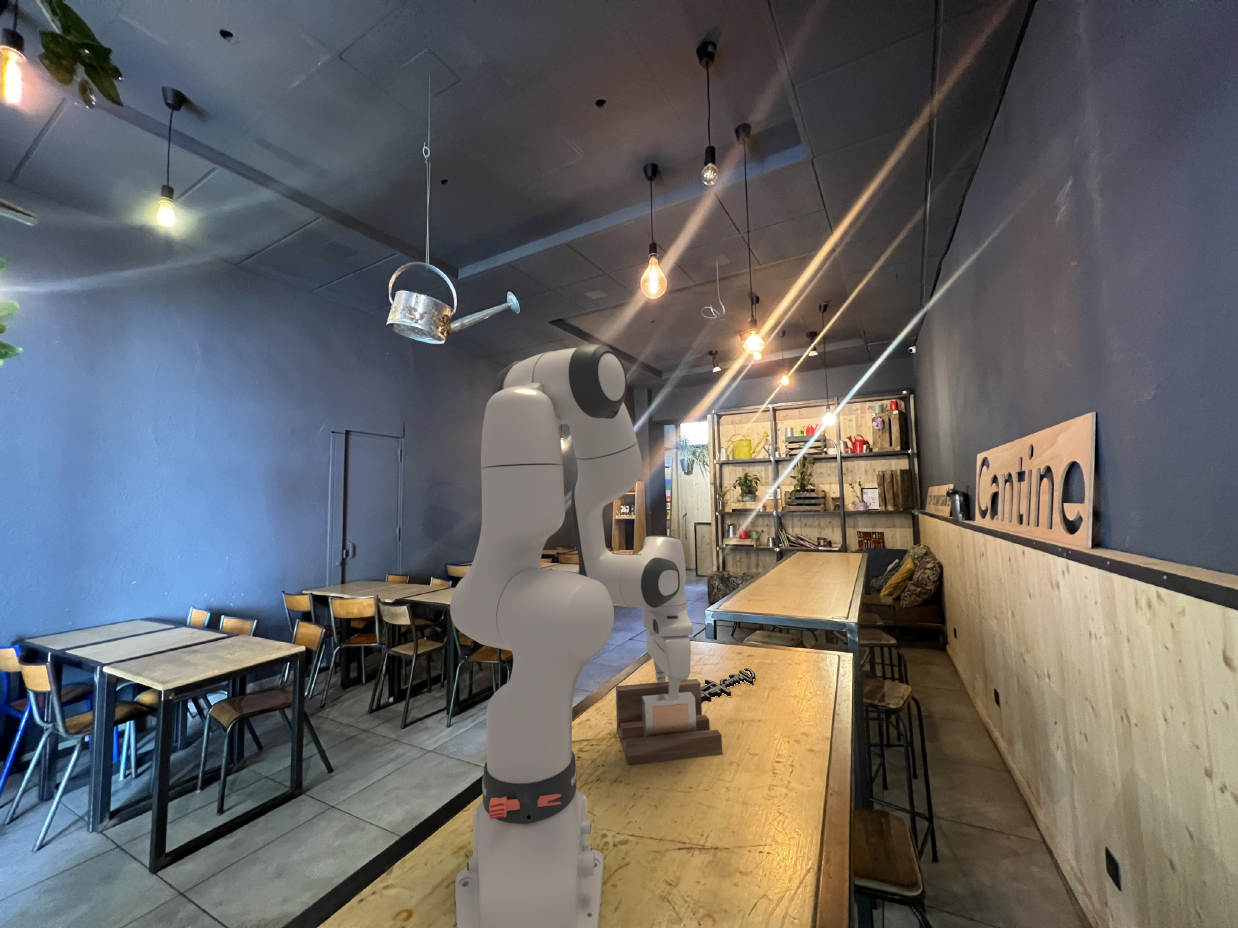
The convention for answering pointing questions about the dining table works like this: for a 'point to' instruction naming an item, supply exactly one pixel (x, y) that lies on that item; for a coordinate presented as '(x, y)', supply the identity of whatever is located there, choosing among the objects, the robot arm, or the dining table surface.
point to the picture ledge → (663, 745)
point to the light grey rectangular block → (668, 714)
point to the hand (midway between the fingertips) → (666, 689)
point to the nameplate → (725, 685)
